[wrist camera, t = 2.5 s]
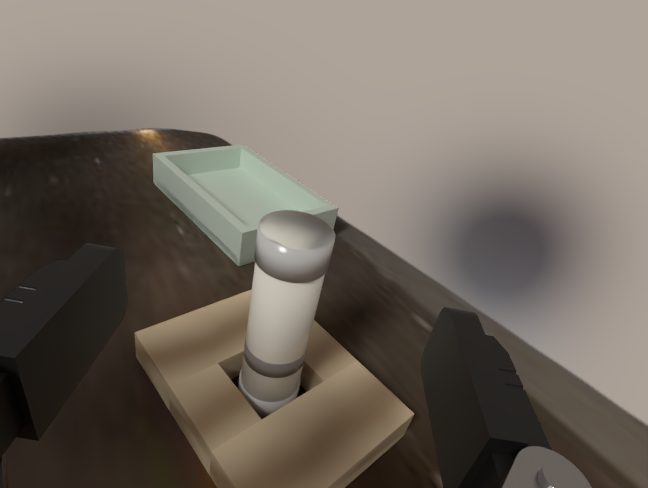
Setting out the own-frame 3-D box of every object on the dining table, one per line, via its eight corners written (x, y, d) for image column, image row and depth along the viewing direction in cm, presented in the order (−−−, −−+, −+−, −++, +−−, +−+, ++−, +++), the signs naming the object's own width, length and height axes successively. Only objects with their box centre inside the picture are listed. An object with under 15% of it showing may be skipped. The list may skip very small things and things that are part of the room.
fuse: (225, 388, 30) (242, 218, 22) (273, 363, 32) (302, 204, 25) (259, 433, 27) (290, 259, 20) (307, 402, 30) (351, 239, 23)
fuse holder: (136, 357, 30) (134, 332, 29) (269, 302, 38) (273, 281, 37) (262, 560, 21) (268, 538, 20) (403, 435, 29) (414, 413, 28)
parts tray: (153, 183, 53) (152, 153, 51) (240, 170, 61) (243, 144, 59) (238, 266, 42) (242, 232, 40) (331, 237, 50) (338, 208, 48)
